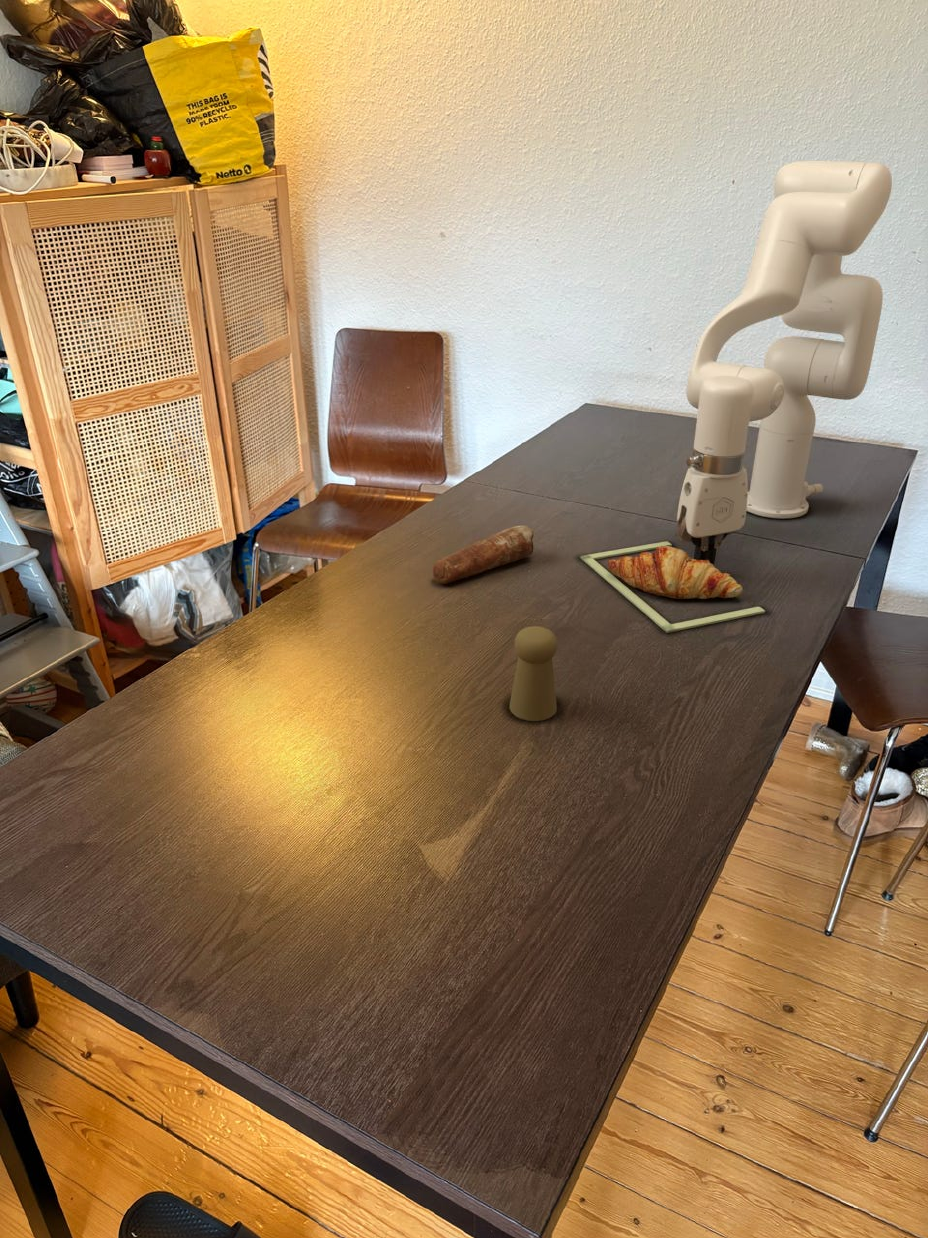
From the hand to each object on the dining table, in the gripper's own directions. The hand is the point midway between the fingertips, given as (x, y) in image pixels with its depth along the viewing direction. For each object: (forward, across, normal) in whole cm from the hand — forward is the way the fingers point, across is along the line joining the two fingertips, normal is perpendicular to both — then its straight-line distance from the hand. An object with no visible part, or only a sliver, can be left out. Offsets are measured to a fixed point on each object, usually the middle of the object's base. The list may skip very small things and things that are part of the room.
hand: (703, 568), depth 147 cm
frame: (+1, -7, 0) cm, 7 cm away
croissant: (+2, -7, -2) cm, 7 cm away
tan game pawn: (+1, -41, -24) cm, 48 cm away
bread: (+2, -32, +15) cm, 36 cm away
